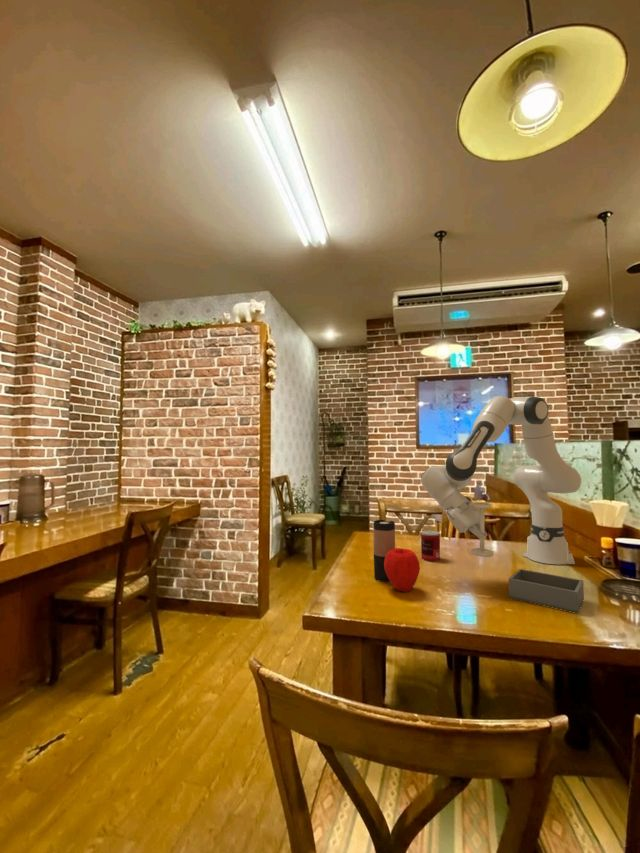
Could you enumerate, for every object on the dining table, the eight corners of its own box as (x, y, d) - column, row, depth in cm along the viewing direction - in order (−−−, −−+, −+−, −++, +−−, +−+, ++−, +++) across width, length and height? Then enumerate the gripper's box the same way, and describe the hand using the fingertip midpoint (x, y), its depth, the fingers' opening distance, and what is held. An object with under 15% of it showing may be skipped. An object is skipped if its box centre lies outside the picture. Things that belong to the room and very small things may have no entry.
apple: (377, 586, 133) (376, 545, 133) (406, 581, 137) (406, 542, 138) (395, 598, 122) (395, 554, 122) (427, 593, 126) (427, 551, 127)
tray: (519, 586, 132) (519, 568, 132) (583, 600, 121) (583, 580, 121) (509, 598, 122) (508, 578, 122) (577, 614, 111) (577, 592, 111)
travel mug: (379, 583, 136) (378, 524, 137) (370, 576, 143) (370, 520, 144) (399, 581, 138) (398, 523, 139) (389, 574, 145) (389, 519, 146)
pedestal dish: (475, 549, 139) (475, 501, 140) (495, 553, 135) (495, 503, 136) (468, 554, 134) (468, 503, 135) (489, 558, 130) (489, 505, 130)
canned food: (438, 556, 169) (437, 530, 169) (442, 562, 161) (441, 534, 161) (419, 556, 169) (419, 530, 170) (422, 561, 161) (422, 534, 162)
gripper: (450, 502, 132) (480, 536, 125) (471, 497, 148) (499, 526, 141) (437, 514, 134) (466, 548, 128) (459, 507, 150) (486, 537, 143)
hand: (484, 537), depth 134 cm, fingers closed on pedestal dish
